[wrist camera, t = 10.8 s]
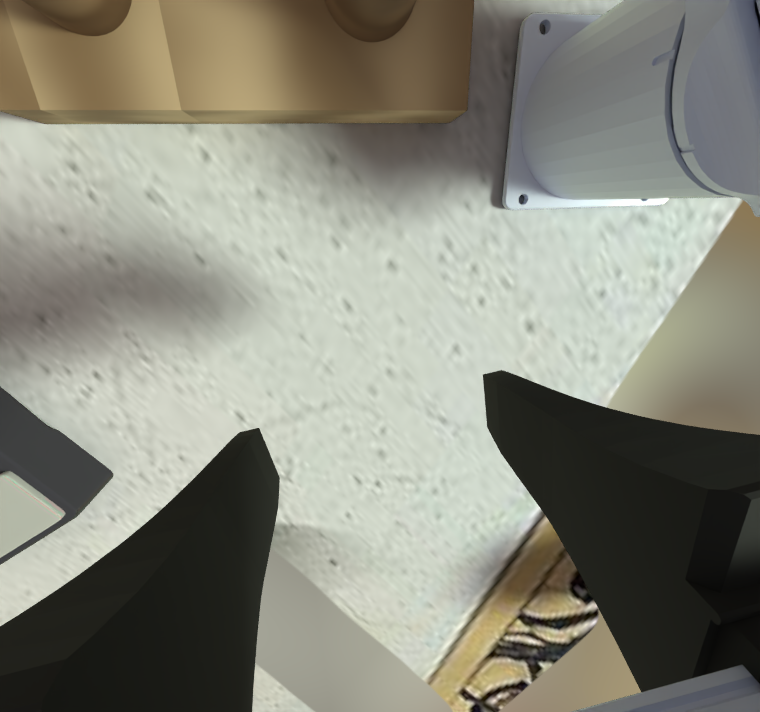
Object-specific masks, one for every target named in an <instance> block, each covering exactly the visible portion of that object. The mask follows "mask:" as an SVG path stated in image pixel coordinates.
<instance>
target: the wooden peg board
mask: <svg viewBox="0 0 760 712" xmlns="http://www.w3.org/2000/svg"><path fill="white" fill-rule="evenodd" d="M473 10H474V0H0V111H2V112H5V113H9V114H12V115H16V116H20V117H23V118H27V119H30V120H34V121H37V122H41V123H44V124H244V123H450V122H451V121H453V120H454V119H456V118H457V117H459V116H460V115H462V114H463V113H465V112H466V111H467V106H468V90H469V74H470V58H471V42H472V26H473Z"/></svg>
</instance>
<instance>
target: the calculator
mask: <svg viewBox="0 0 760 712" xmlns="http://www.w3.org/2000/svg"><path fill="white" fill-rule="evenodd" d="M112 477H113V473H112V471H111V470H109V469H108V468H107V467H106V466H104V465H103V464H102V463H100V462H99V461H98V460H97V459H95V458H94V457H93V456H91V455H90V454H89V453H87V452H86V451H85V450H84V449H82V448H81V447H80V446H78V445H77V444H76V443H74V442H73V441H72V440H71V439H69V438H68V437H67V436H65V435H64V434H63V433H61V432H60V431H58V430H55V429H52V428H50V427H48V426H47V425H46V424H44V423H43V422H42V421H41V420H40V419H38V418H37V417H36V416H35V415H34V414H32V413H31V412H30V411H29V410H28V409H26V408H25V407H24V406H23V405H22V404H20V403H19V402H18V401H17V400H16V399H14V398H13V397H12V396H11V395H10V394H8V393H7V392H6V391H5V390H4V389H2V388H1V387H0V565H1V564H2V563H4V562H5V561H7V560H9V559H10V558H12V557H13V556H15V555H17V554H18V553H20V552H21V551H23V550H25V549H26V548H28V547H29V546H31V545H33V544H34V543H36V542H37V541H39V540H41V539H42V538H44V537H45V536H47V535H49V534H50V533H52V532H53V531H55V530H57V529H58V528H60V527H61V526H63V525H65V524H66V523H68V522H69V521H71V520H73V519H74V518H76V517H77V516H78V515H79V514H80V513H81V512H82V511H83V510H84V509H85V507H86V506H87V505H88V504H89V503H90V502H91V501H92V500H93V499H94V497H95V496H96V495H97V494H98V493H99V492H100V491H101V490H102V489H103V487H104V486H105V485H106V484H107V483H108V482H109V481H110V480H111V479H112Z"/></svg>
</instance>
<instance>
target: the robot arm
mask: <svg viewBox="0 0 760 712" xmlns="http://www.w3.org/2000/svg"><path fill="white" fill-rule="evenodd" d="M540 24H544V26H545V27H546V32H545V35H543V34H541V32H540V30H539V26H540ZM521 195H523V196H524V202H523V203H522V204H520V203H519V200H518V199H519V197H520V196H521ZM723 197H737V198H741V199H743V200H744V201H746V202H747V203H748V204H749V205H750V207H751V208H752V210H753V212H754V215H755V216H757V217H760V0H624V1H622V2H621V3H619V4H618V5H617V6H615V7H614V8H612V9H611V10H609V11H608V12H607V13H605V14H604V15H595V14H564V13H532V14H530V15H529V16H528V17H527V18H525V19H524V21H523V22H522V24H521V27H520V33H519V43H518V52H517V62H516V71H515V81H514V91H513V100H512V110H511V120H510V129H509V139H508V148H507V158H506V168H505V177H504V187H503V196H502V204H503V206H504V207H505V208H506V209H508V210H528V209H561V208H595V207H629V206H659V205H662V204H664V203H665V202H666V201H667V200H668V198H723ZM641 199H642V200H641ZM483 381H484V393H485V405H486V417H487V427H488V429H489V431H490V433H491V435H492V437H493V439H494V441H495V443H496V445H497V447H498V448H499V450H500V452H501V454H502V455H503V457H504V458H505V459H506V461H507V462H508V464H509V465H510V466H511V468H512V469H513V471H514V472H515V474H516V475H517V476H518V478H519V479H520V480H521V482H522V483H523V485H524V486H525V487H526V489H527V490H528V491H529V493H530V494H531V496H532V497H533V498H534V500H535V501H536V503H537V504H538V505H539V507H540V508H541V509H542V511H543V512H544V514H545V515H546V517H547V518H548V520H549V521H550V523H551V524H552V526H553V528H554V530H555V531H556V533H557V535H558V536H559V538H560V540H561V542H562V543H563V545H564V547H565V548H566V550H567V552H568V554H569V555H570V557H571V559H572V561H573V562H574V564H575V566H576V568H577V570H578V571H579V573H580V575H581V577H582V579H583V580H584V582H585V584H586V586H587V588H588V589H589V591H590V593H591V595H592V597H593V599H594V601H595V602H596V604H597V606H598V608H599V610H600V612H601V614H602V616H603V618H604V619H605V621H606V623H607V625H608V627H609V629H610V631H611V633H612V635H613V637H614V638H615V640H616V642H617V644H618V646H619V648H620V650H621V652H622V654H623V656H624V658H625V660H626V662H627V664H628V666H629V668H630V670H631V672H632V674H633V676H634V678H635V680H636V682H637V684H638V686H639V688H640V690H641V693H637V694H634V695H630V696H627V697H623V698H619V699H616V700H612V701H609V702H605V703H601V704H598V705H594V706H591V707H587V708H583V709H579V710H576V711H572V712H760V435H755V434H746V433H737V432H730V431H722V430H714V429H707V428H700V427H693V426H686V425H681V424H676V423H671V422H666V421H660V420H655V419H650V418H645V417H641V416H637V415H633V414H629V413H625V412H621V411H617V410H613V409H609V408H606V407H602V406H599V405H596V404H592V403H589V402H586V401H583V400H580V399H577V398H574V397H571V396H568V395H566V394H563V393H560V392H557V391H555V390H552V389H550V388H547V387H544V386H542V385H539V384H537V383H534V382H532V381H529V380H527V379H524V378H522V377H519V376H517V375H514V374H511V373H509V372H506V371H502V370H501V371H496V372H492V373H488V374H484V375H483ZM279 479H280V478H279V475H278V473H277V470H276V468H275V465H274V463H273V461H272V458H271V456H270V453H269V451H268V448H267V446H266V444H265V441H264V439H263V436H262V434H261V432H260V429H259V428H256V429H252V430H248V431H244V432H240V433H238V434H237V435H236V436H235V437H234V438H233V439H232V440H231V441H230V442H229V443H228V444H227V445H226V446H225V447H224V448H223V449H222V450H221V451H220V452H219V453H218V454H217V455H216V456H215V457H214V458H213V459H212V461H211V462H210V463H209V464H208V465H207V466H206V467H205V468H204V469H203V470H202V471H201V472H200V473H199V474H198V475H197V476H196V477H195V478H194V479H193V480H192V481H191V482H190V483H189V484H188V485H187V486H186V487H185V488H184V489H183V490H182V491H181V492H180V493H179V494H178V495H176V496H175V497H174V498H173V499H172V500H171V501H170V502H169V503H168V504H167V505H166V506H165V507H164V508H163V509H162V510H161V511H159V512H158V513H157V514H156V515H155V516H154V517H153V518H152V519H150V520H149V521H148V522H147V523H146V524H144V525H143V526H142V527H141V528H140V529H138V530H137V531H136V532H135V533H134V534H132V535H131V536H130V537H129V538H128V539H126V540H125V541H124V542H122V543H121V544H120V545H119V546H117V547H116V548H115V549H113V550H112V551H110V552H109V553H108V554H106V555H105V556H104V557H102V558H101V559H100V560H98V561H97V562H96V563H94V564H93V565H92V566H90V567H89V568H88V569H86V570H85V571H84V572H82V573H81V574H80V575H78V576H77V577H75V578H74V579H72V580H71V581H69V582H68V583H67V584H65V585H64V586H62V587H61V588H59V589H58V590H56V591H55V592H53V593H52V594H50V595H49V596H47V597H46V598H44V599H43V600H41V601H40V602H38V603H37V604H35V605H33V606H32V607H30V608H29V609H27V610H26V611H24V612H23V613H21V614H20V615H18V616H16V617H15V618H13V619H12V620H10V621H8V622H7V623H5V624H4V625H2V626H0V712H252V701H253V683H254V670H255V657H256V644H257V632H258V621H259V611H260V602H261V595H262V588H263V581H264V577H265V571H266V567H267V561H268V557H269V552H270V547H271V542H272V537H273V531H274V526H275V521H276V516H277V510H278V499H279Z"/></svg>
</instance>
